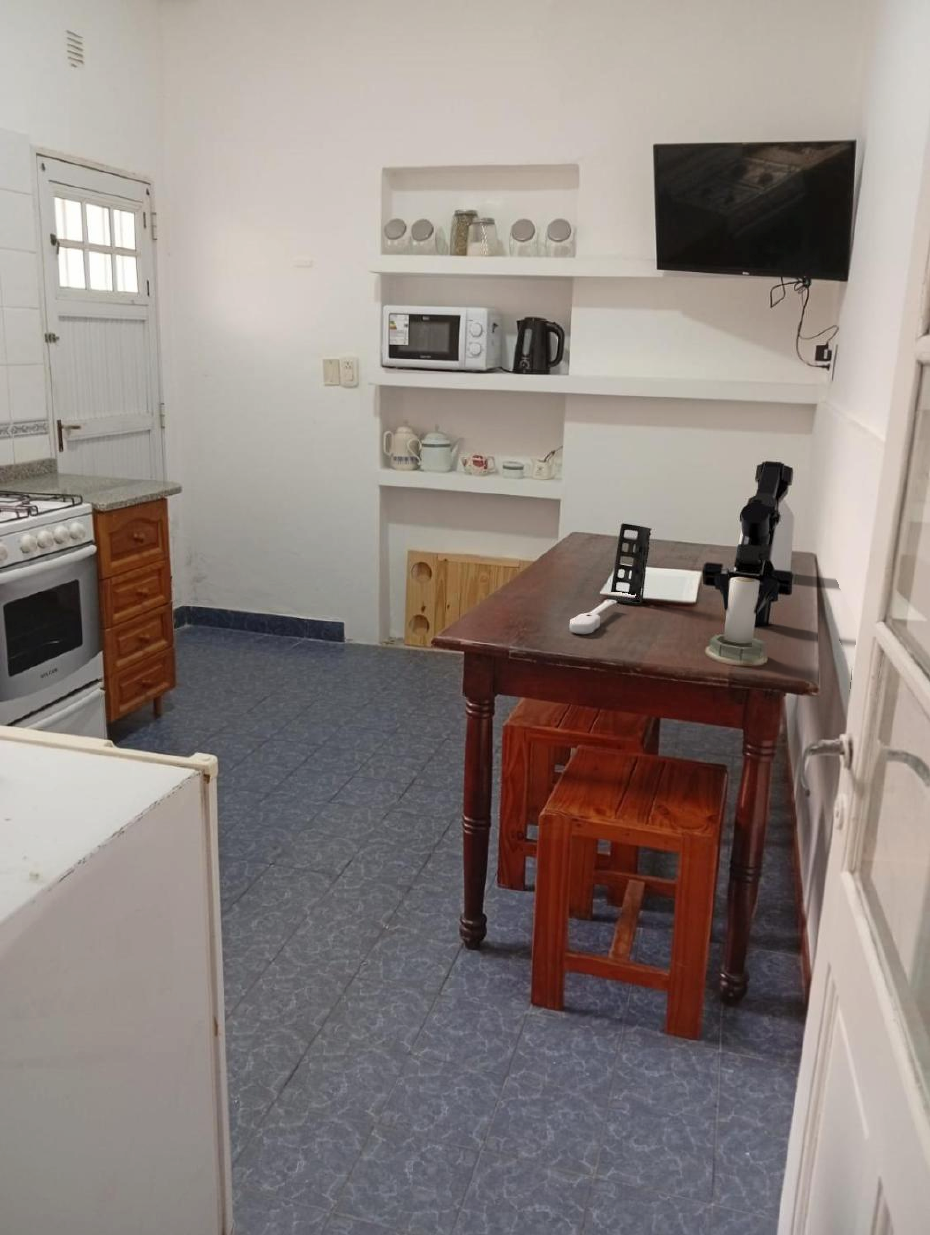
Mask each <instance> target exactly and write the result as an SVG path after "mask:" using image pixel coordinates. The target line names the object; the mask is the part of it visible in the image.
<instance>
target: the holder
mask: <svg viewBox="0 0 930 1235" xmlns="http://www.w3.org/2000/svg"><path fill="white" fill-rule="evenodd" d="M626 531H632V532H633V531H634V532H636V533H637V535H636V539H632V538H626V537H625V532H626ZM651 531H652V528H651V527H646V526H642V525H636V524H630V523H621V524H620V529H619V535H618V542H617V549H616V553H615V554H616V556H615V562H614V567H613V568H614V570H613V574H612V581H611V588H610V589H611V590H610V593H611V592H622V593H628V594H631V595H635V594H636V596H635V598H634V599H629V598H627V597H620V596H616V597H614V596H610V595H609V599H610V600H615V601H617V603H618V602H619V603H622V604H626V605H628V606H629V605H630V606H636V607H642V606H643V603H644V602H643V601H644V592H645V591H644V590H645V583H646V582H645V580H646V572H647V570H646V569H647V563H648V558H649V550H650V546H649V545H650V540H651V539H650V538H651V535H652V533H651ZM624 544H628V547H627V551H624V550H623V545H624ZM634 546H635V547H634ZM622 557H626V558H632V559H633V560H632V565H628V564H623V563H621V558H622ZM620 570H623V572H624V573H623V577H619V571H620ZM630 572H631V574H630ZM618 583H621V584H628V585H629V586H628V591H624V590H623V591H622V590H618V589H617V584H618ZM636 600H639V601H636ZM633 601H634V602H633Z"/></svg>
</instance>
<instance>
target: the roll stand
mask: <svg viewBox="0 0 930 1235" xmlns="http://www.w3.org/2000/svg"><path fill="white" fill-rule="evenodd" d="M704 652H705V653H704V654H705V656H706V657H707V658H708V659H710V660H713V661H715V662H718V663H721V664H725V665H732V666H739V667H740V666H741V667H756V666H761V665H765V664H767V662H768V660H769V659H768V658H769V656H768V654H767V652H766V642H765V641H763V640H760V639H758V638H756V637H754V636H753V641H752V642H751V643H734V642H730V641H727V640H725V639H724V634H715V635H713V636H712V637H711V638H710V639H709V645H708V646H706V648H705V651H704ZM764 663H765V664H764Z"/></svg>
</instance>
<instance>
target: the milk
mask: <svg viewBox="0 0 930 1235" xmlns="http://www.w3.org/2000/svg"><path fill="white" fill-rule="evenodd" d="M778 510H779V512H780V515H781V520H780V522H779V523H778V524H777V526H776V529H775V535H774V542H773V548H772V555H771V562H772V564H773V567H774V569H777V570H786V571H791V564H792V550H793V542H794V541H793V539H794V530H795V529H794V528H795V527H794V526H795V516H794V513H793V512H792V510H791V509H790V507H789V506H788V504H787V501H786V500H785V497H784V498H783V500H782V501H781V502H780V503H779V509H778ZM742 536H743V534H742V527H741V529H740V534H739V538H738V539H739V540H738V544H741V541H742ZM733 568H734V569H733V571H735V569H736V568H735V567H733Z"/></svg>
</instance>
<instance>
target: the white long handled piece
mask: <svg viewBox="0 0 930 1235" xmlns="http://www.w3.org/2000/svg"><path fill="white" fill-rule="evenodd" d="M617 603H618V601H616V600H613V599H605V600H603V603H602V604H600V605H598V606H597V607H595V608H594V609H592V610H591V611H590V612H587V613H585V612H584V613H579V614H578V615H577V616H575V617H573V618H571V619H570V620H569V631H570V632H571V633H573V634H578V635H579V634H580V635H587V634H592V633H594V632H595V630H598V629H599V627H600V624H601V616H600V615H599V614H600V613H602V612H603V611H605V610H606V609H607V608H609V607H610V606H612V605H615V604H617Z"/></svg>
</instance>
